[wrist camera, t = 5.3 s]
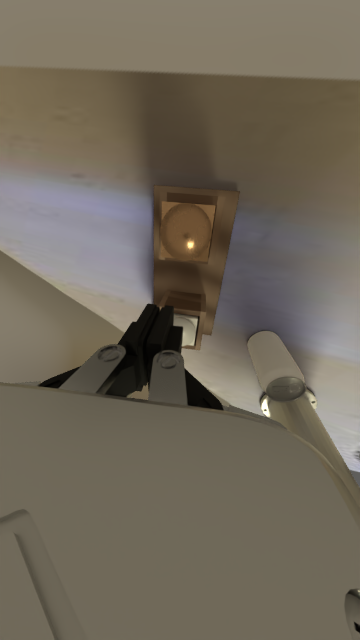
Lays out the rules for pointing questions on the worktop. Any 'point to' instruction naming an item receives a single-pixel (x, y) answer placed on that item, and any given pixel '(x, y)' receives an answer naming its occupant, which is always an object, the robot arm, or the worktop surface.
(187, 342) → the pale plunger
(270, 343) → the can
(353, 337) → the worktop surface
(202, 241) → the copper plunger
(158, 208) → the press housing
